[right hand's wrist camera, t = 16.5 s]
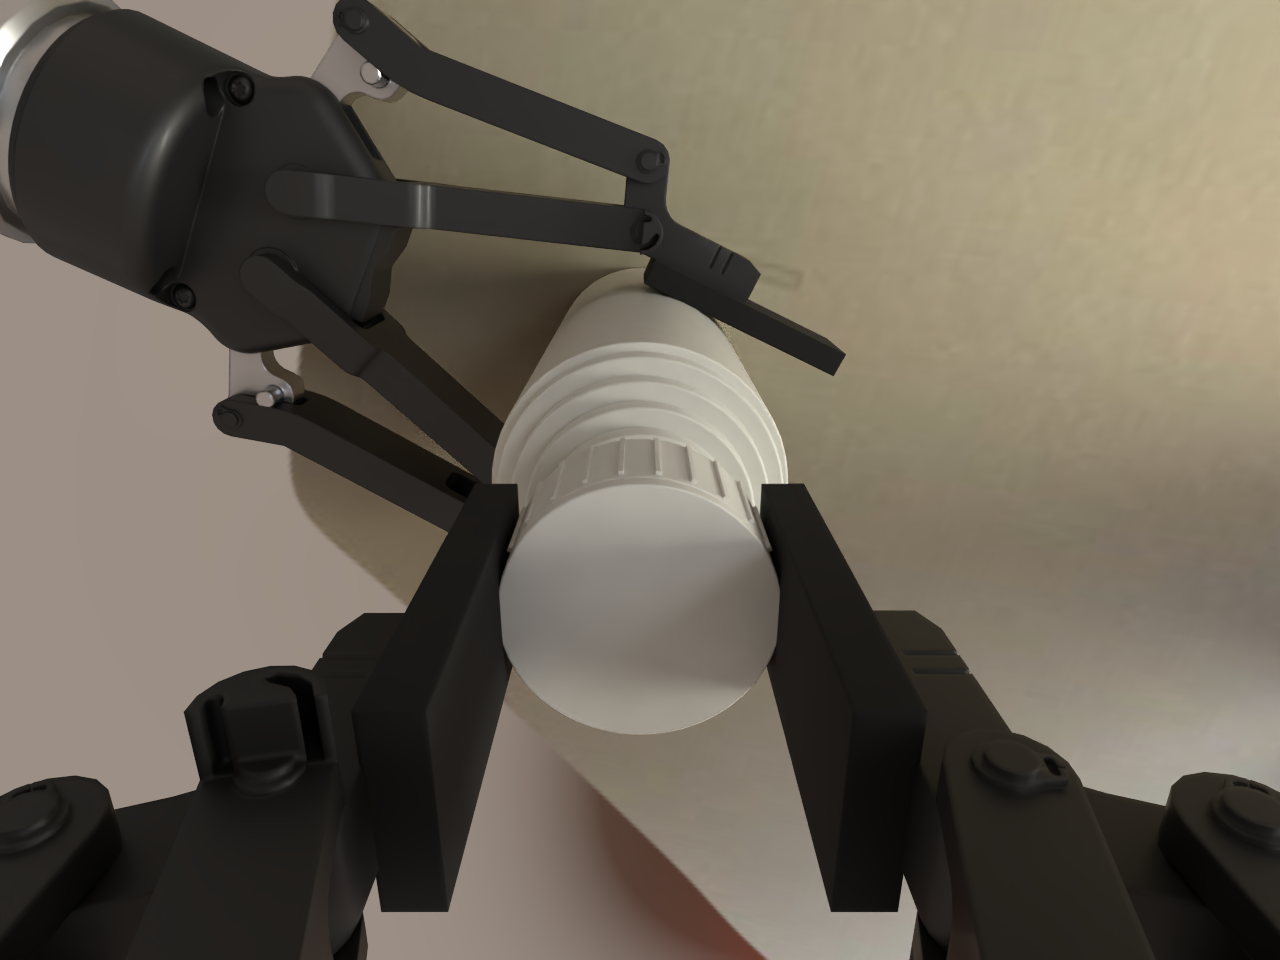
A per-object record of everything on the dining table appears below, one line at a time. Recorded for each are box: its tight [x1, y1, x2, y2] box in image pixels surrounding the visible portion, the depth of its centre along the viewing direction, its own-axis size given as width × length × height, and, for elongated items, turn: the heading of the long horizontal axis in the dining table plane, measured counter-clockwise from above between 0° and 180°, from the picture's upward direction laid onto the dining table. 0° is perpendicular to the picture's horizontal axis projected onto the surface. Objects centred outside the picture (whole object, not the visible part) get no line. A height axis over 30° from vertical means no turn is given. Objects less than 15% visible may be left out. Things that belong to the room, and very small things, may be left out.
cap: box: [499, 438, 780, 735], centre depth 13 cm, size 4×5×2 cm
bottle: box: [492, 268, 788, 516], centre depth 23 cm, size 7×7×20 cm
